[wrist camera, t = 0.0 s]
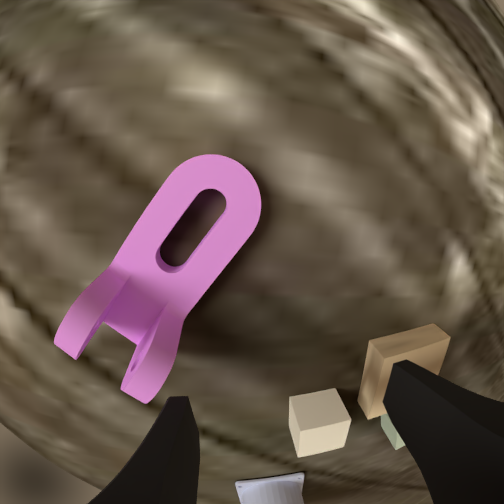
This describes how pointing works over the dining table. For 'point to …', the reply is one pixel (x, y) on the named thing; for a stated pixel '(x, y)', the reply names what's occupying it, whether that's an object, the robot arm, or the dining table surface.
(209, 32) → the dining table surface
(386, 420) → the sage cube
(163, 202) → the bracket
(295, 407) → the cream cube
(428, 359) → the oak slab
